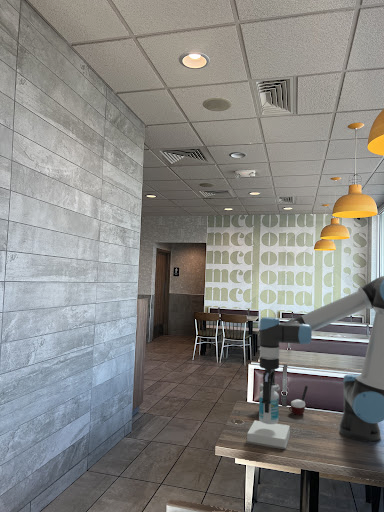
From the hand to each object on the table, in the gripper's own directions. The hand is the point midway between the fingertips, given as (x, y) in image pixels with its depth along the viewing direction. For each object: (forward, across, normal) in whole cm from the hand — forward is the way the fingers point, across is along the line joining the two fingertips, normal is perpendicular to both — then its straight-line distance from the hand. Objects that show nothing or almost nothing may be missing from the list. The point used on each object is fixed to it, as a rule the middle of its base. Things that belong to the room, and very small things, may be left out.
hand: (268, 417), depth 146 cm
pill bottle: (+2, 0, 0) cm, 2 cm away
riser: (+8, 0, 0) cm, 8 cm away
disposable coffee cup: (+8, -31, -5) cm, 32 cm away
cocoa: (+8, -33, +8) cm, 35 cm away
